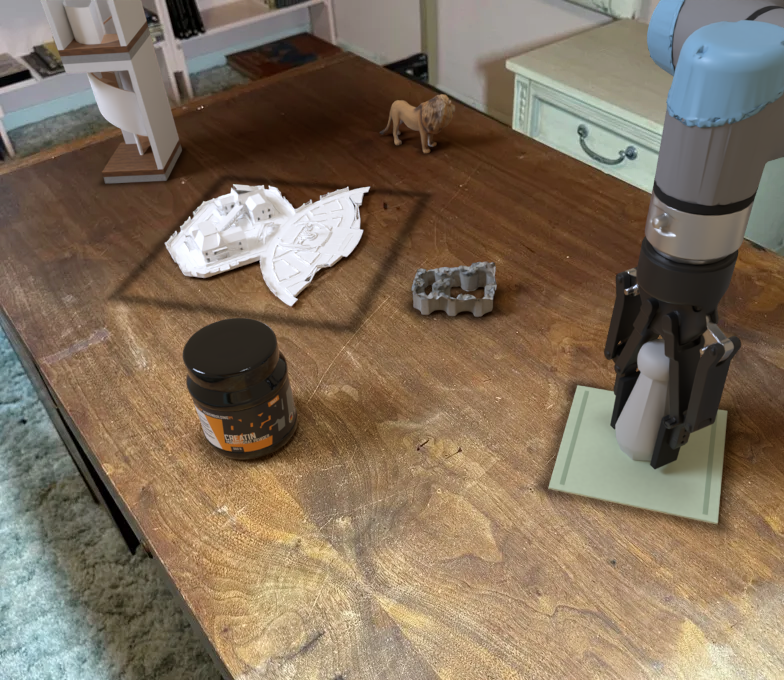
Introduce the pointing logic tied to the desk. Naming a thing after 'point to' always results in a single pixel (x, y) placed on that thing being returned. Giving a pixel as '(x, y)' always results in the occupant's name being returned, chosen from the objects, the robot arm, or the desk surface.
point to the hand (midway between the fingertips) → (642, 441)
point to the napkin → (638, 464)
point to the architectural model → (269, 236)
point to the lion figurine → (421, 118)
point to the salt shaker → (645, 403)
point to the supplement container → (240, 388)
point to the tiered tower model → (120, 81)
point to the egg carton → (457, 276)
